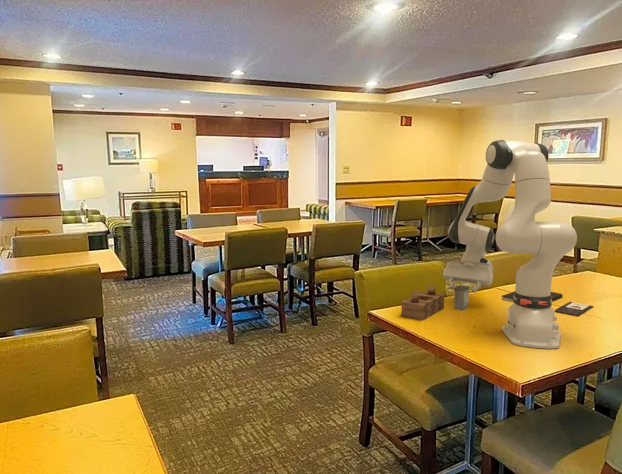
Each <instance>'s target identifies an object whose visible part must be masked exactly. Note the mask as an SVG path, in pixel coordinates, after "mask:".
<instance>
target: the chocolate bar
mask: <svg viewBox="0 0 622 474" xmlns="http://www.w3.org/2000/svg"><path fill="white" fill-rule="evenodd" d="M593 308H594V305H590V304H583V303H578V302H574V301H569V302H567V303H565V304H563V305H561V306H560V307H558V308H555V309H554V310H555V314H556V313H557V314H562V315H567V316H572V317H578V318H579V317H580V316H582V315H584V314H585V313H586V312H589V311H590V310H591V309H593Z"/></svg>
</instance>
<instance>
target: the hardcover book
mask: <svg viewBox="0 0 622 474" xmlns="http://www.w3.org/2000/svg"><path fill="white" fill-rule="evenodd" d="M550 294H551V295H552V303H553V302H556V301H557V300H560V299H563V296H564V295H563V294H562V293H559V292H554V291H551V292H550ZM513 295H514V291H512V292H509V293H508V292H507V293H506V294H503V295H501V300H503V301H507V302H510V303H514V301H513Z"/></svg>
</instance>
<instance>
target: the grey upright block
mask: <svg viewBox="0 0 622 474" xmlns="http://www.w3.org/2000/svg"><path fill="white" fill-rule="evenodd" d="M453 290H454V299H453V300H454V303H453V304H454V305H453V306H454V307H453V309H454V310H457V311H463V312H464V311H466V310H467V309H469V297H470V296H469V293H470V286H466V285H460V284H459V285H457V286H455V287H454V289H453Z"/></svg>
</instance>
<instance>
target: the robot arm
mask: <svg viewBox="0 0 622 474" xmlns="http://www.w3.org/2000/svg"><path fill="white" fill-rule="evenodd" d="M549 157H550V155H549V151H548V147H546V146H545V145H544V144H542V143H539V142H530V141H523V140H519V139H518V140H517V139H511V140H504V139H499V140H494V141H492V142H491V143H490V144H489V145H488V147H487V148H486V151H485V161H486V163H487V164H486V166H485V168H484V172H483V174H482V178H481V180H480V182H479V183H478V184H477V185H474V186H472V187H470V189H469V191H468V193H467V195H466V196H465V198H464V200H463V202H462V204H461V206H460V208H459V210H458V211H457V215H456V217H455V219H454V220H453V221H452V222H451V224H450V226H449V228H448V231H447V234H448V235H447V236H448V238H449V239H450V241H451V242H452V243H456V244H462V245H465V246H466V247H465V251H464V252H463V255H462V258H461V260H460V261H459V260H451V261H448V262H447V264H446V266H445V268H444V270H443V272H442V276H443V278H444V280H447V281H449V283H450V285H449V289H450V290H454V288H455V287H456V286H455V284H454V283H455V282H458V283H460V282H461V283H465V284H468V283H469V284H474V285H475V286H472V289H471V292H472V293H477V292H478V290H479V289H480V288H481V287H482V286H486V287H487V286H491V285H492V283H493V280H494V273H493V271H494V266H493V263H492V261H491V260H490V259H487V258H485V256H486V255H487V253H488V252H489V251H491V250H492V246H493V243H494V241H495V243H496V245H497V247H498V248H499V250H501V251H502V252H503V253H510V254H515V255H533V257H532V258H531V260H529V261H528V262H527V263H524V264H522V265H521V266H520V267H518V268H517V270H516V273H515V288H514V291H513V292H514V295H513V301H514V302H512V304H511V305H510V306H508V311H507V324H506V325H503V326H501V331H502V332H503V334H504V335H505V336H506V338H507V339H508V340H509V341H510V342H511V344H512V345H517V346H521V347H525V348H534V349H546V350H547V349H551V350H553V349H559V348H560V343H561V336H562V333H561V332H562V331H560V330H559V326H560V325H559V322H556V321H558V317H557V316H556V312H555V310H556V309H554V308H552V303H553V302H552V295H551V294H550V292H552V291H551V290H552V289H551V288H552V281H553V275H554V270H555V268H556V267H557V264H558V263H559V262H560V260H562V258H564V256H565V255H566V254H568V253H569V252H572V250H573V249H574V248H575V246H576V245H577V242H578V235H577V232H576V230H575V228H574V227H573V226H572V225H571V224H570V223H564V222H559V221H536V219H535V216H536V214H537V213H540V212H542V211H544V210H545V209H547V208H548V207H549V206H550V204H551V203H552V193H551V192H552V191H551V178H550V171H549V166H548V162H549ZM513 179H514V180H513ZM513 181H514V192H515V193H514V207H513V211H511V212H512V213H511V214H510V216H509V218H508V219H507V220H505V221H504V222H503V223H502V224H501V225H500V226H499V227H498V228H497V230H496V233H495V232H494V231H493V229H492V228H490V227H487V226H485V225H481V224H476V223H474V222H473V223H472V222H470V221H467V220H466V219H467V217H468V215H469V213H470V211H471V209H472V207H474V205H476V204H481V203H489V202H492V203H493V202H496V201H499V200H502V199H504V198H505V197H506V196H507V195H508V194H509V191H510V189H511V187H512V183H513Z"/></svg>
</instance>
